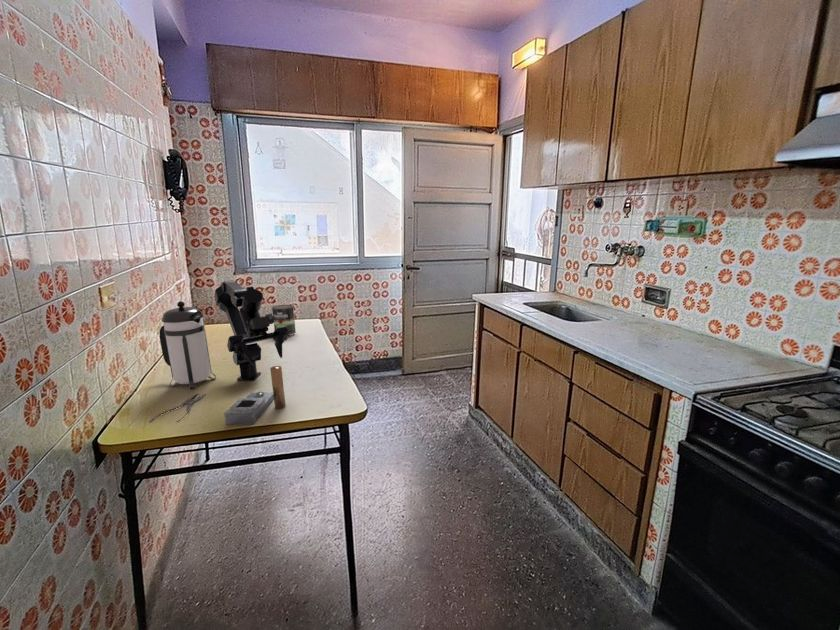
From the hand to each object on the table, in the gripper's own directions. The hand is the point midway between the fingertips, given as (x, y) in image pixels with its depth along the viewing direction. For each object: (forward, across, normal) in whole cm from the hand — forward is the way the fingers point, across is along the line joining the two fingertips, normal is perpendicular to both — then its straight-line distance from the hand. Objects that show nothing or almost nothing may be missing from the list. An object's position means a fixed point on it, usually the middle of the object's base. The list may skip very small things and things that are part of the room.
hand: (267, 360), depth 134 cm
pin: (+15, 0, +4) cm, 15 cm away
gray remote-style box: (+12, -8, +6) cm, 16 cm away
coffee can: (-41, +32, +60) cm, 80 cm away
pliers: (+1, -25, +19) cm, 31 cm away
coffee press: (-15, -18, +34) cm, 41 cm away
